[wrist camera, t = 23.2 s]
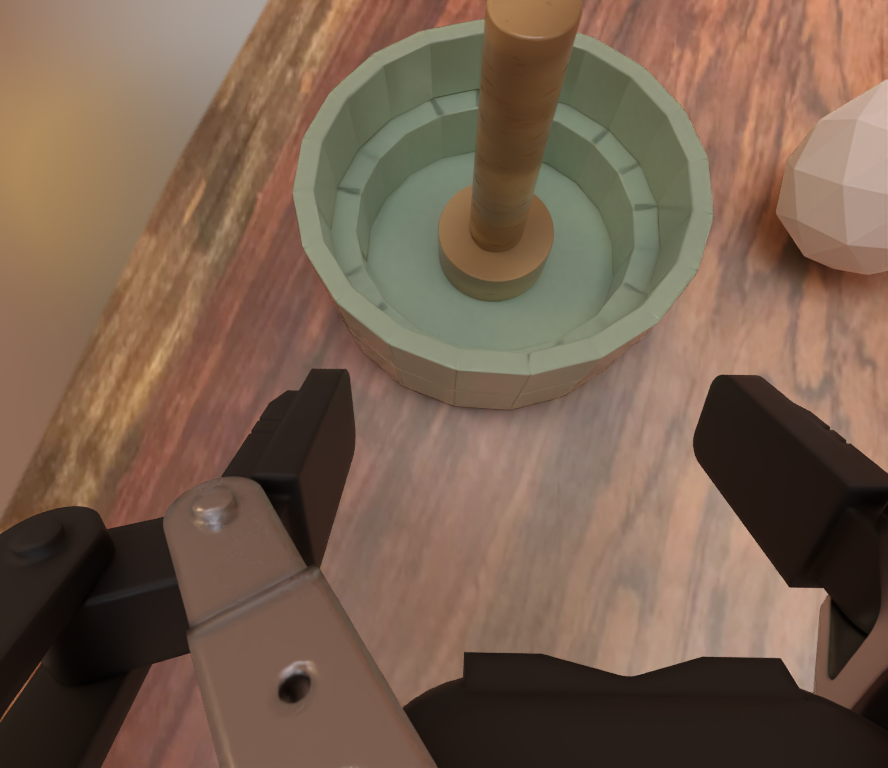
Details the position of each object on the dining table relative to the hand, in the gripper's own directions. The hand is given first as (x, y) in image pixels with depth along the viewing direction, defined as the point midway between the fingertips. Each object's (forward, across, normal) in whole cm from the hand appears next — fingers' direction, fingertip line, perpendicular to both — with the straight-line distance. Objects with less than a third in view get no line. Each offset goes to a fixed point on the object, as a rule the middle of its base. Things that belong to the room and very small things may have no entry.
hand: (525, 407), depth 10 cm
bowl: (+14, 0, 0) cm, 14 cm away
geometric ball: (+16, -17, -1) cm, 23 cm away
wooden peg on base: (+14, 0, 0) cm, 14 cm away
